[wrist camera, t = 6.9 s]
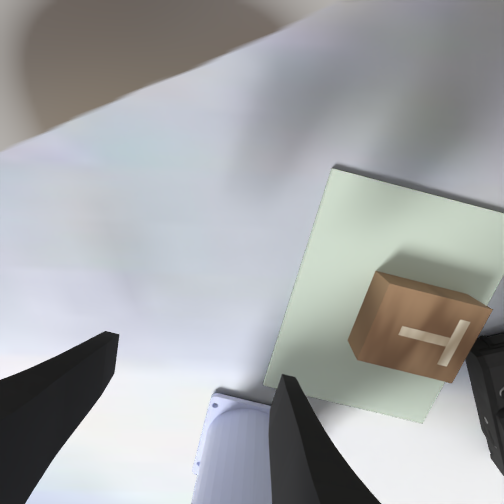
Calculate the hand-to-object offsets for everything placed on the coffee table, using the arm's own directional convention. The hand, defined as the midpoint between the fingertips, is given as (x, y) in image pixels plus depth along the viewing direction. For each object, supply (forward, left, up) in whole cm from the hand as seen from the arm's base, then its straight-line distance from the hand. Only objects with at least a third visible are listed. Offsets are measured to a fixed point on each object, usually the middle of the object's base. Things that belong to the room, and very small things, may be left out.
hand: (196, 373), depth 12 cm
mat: (+1, -12, -10) cm, 16 cm away
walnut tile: (+1, -10, -8) cm, 13 cm away
